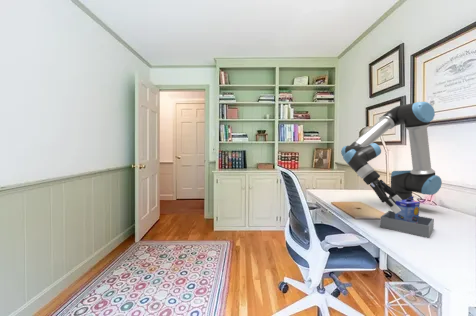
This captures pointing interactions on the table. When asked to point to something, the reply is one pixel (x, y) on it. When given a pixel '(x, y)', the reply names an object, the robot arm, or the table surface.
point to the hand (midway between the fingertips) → (401, 209)
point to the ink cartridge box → (408, 210)
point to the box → (408, 225)
